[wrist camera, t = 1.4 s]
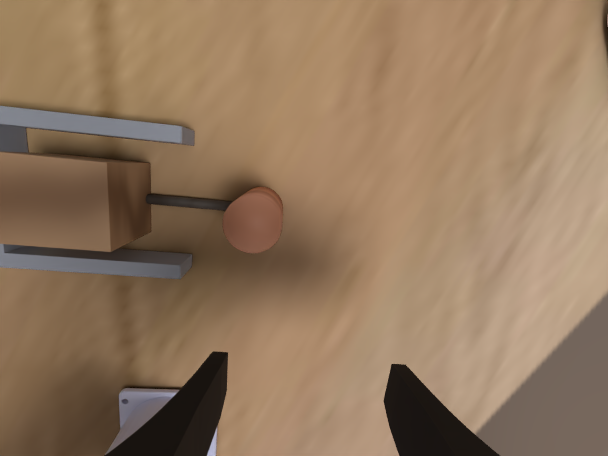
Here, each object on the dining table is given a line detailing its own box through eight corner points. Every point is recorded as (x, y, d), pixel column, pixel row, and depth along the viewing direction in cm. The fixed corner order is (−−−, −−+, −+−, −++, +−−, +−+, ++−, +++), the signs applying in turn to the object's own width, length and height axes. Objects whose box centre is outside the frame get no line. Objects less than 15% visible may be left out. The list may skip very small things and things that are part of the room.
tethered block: (280, 242, 22) (278, 270, 16) (65, 224, 21) (-22, 248, 15) (285, 176, 21) (286, 181, 15) (59, 153, 19) (-37, 149, 14)
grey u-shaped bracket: (192, 266, 22) (180, 279, 19) (24, 254, 21) (-11, 266, 18) (194, 131, 20) (181, 126, 17) (7, 110, 19) (-34, 101, 16)
